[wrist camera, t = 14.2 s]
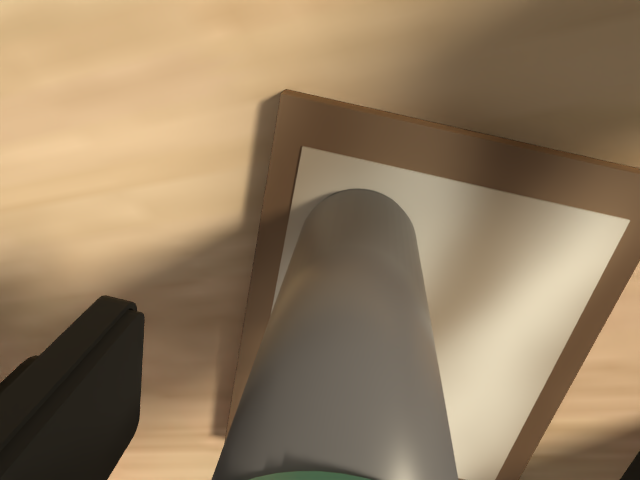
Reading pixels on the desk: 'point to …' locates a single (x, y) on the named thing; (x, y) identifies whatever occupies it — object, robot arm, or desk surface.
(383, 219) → the marker
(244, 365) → the clipboard
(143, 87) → the desk surface
